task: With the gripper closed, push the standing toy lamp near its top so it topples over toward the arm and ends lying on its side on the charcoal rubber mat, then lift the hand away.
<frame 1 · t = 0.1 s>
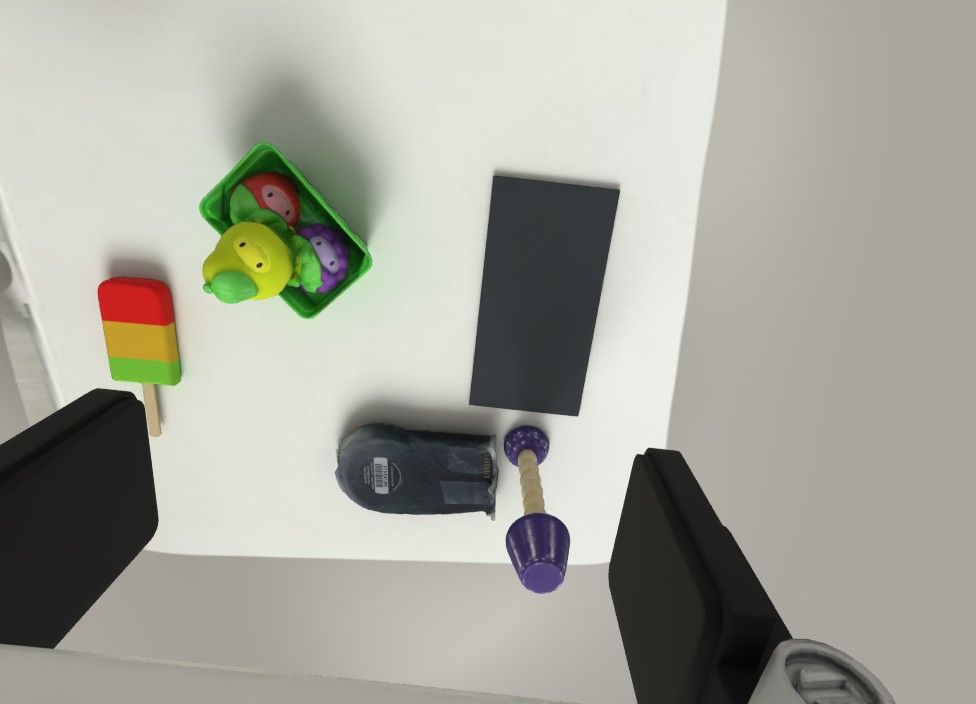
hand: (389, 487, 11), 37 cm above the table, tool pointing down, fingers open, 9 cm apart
mat: (538, 304, 47), on the table
fruit basket: (305, 230, 46), on the table
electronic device: (418, 461, 53), on the table
toy lamp: (528, 446, 52), on the table
popsicle: (152, 357, 50), on the table
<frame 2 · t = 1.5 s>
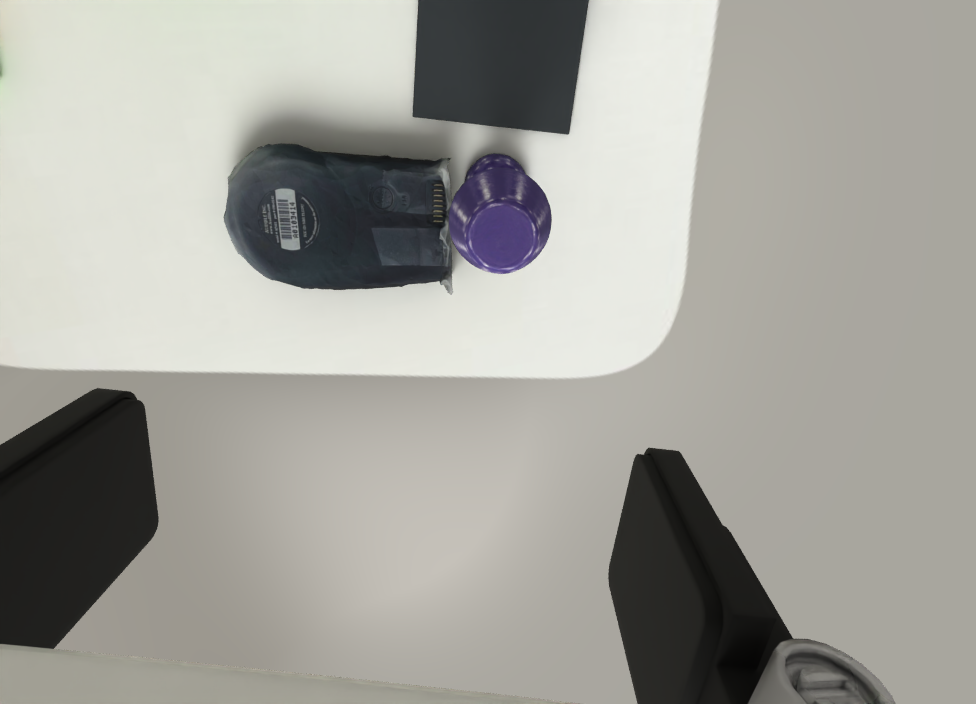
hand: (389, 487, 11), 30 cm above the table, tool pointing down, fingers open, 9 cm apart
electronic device: (346, 217, 38), on the table
toy lamp: (499, 191, 37), on the table
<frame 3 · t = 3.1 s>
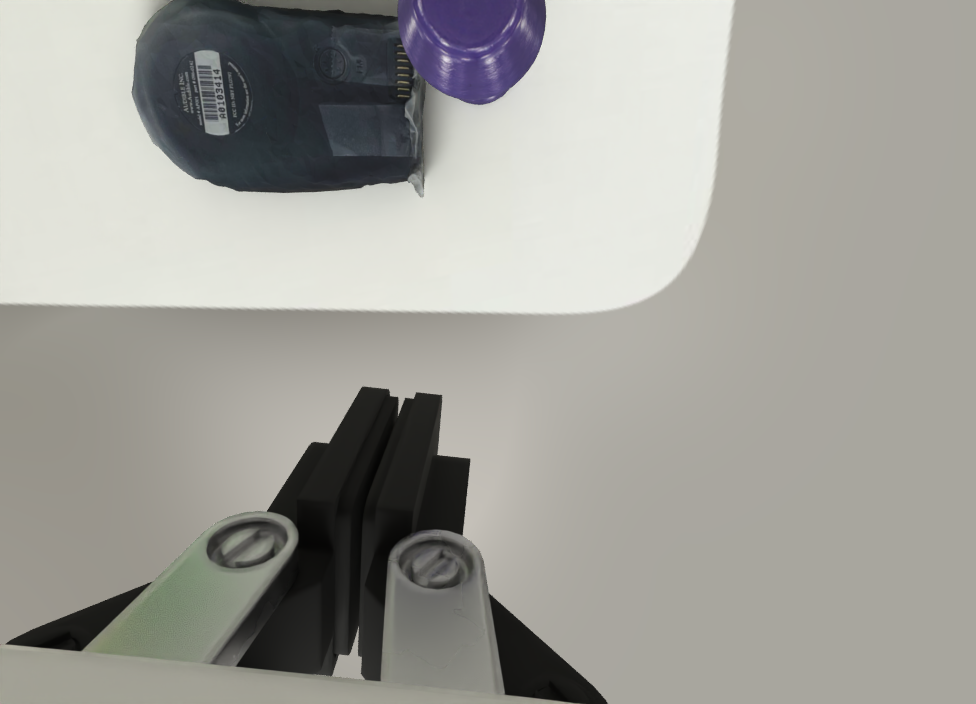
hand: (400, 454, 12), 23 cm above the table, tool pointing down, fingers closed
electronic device: (292, 102, 31), on the table
toy lamp: (482, 67, 30), on the table
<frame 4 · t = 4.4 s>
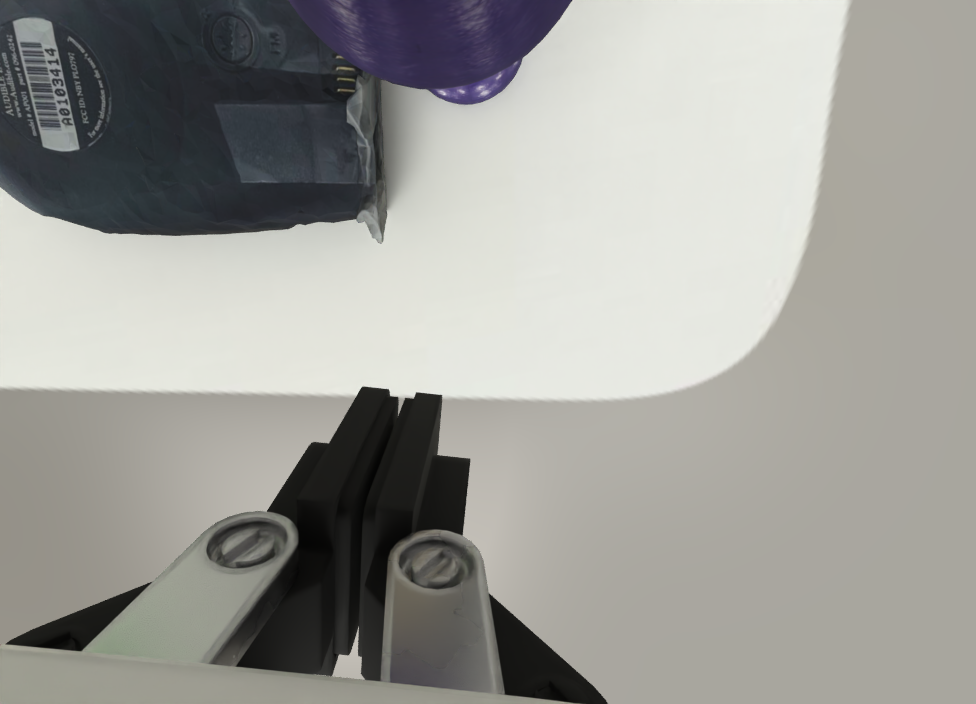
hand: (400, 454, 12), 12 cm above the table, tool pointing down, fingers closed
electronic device: (189, 101, 21), on the table
toy lamp: (471, 48, 20), on the table
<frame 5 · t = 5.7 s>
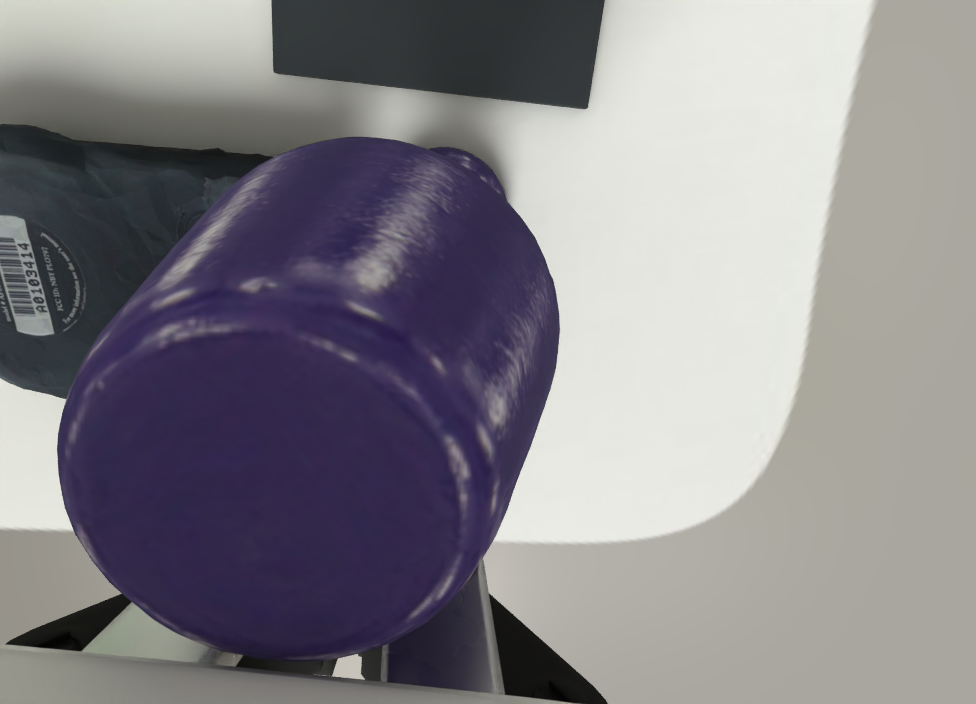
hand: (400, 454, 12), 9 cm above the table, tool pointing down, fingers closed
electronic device: (168, 266, 20), on the table
toy lamp: (453, 220, 19), on the table, touching gripper
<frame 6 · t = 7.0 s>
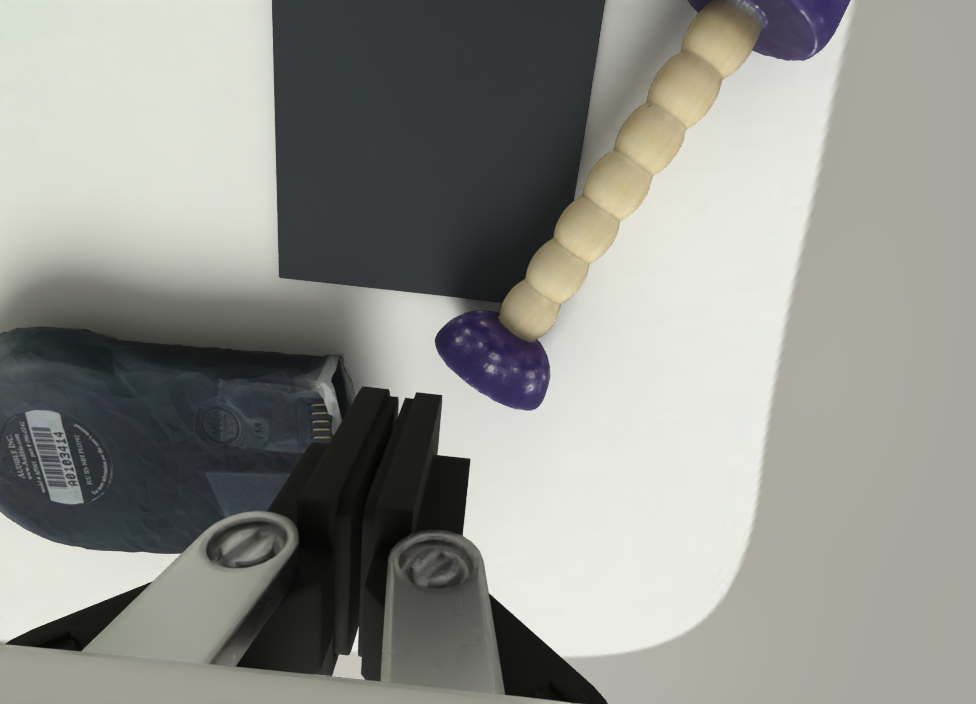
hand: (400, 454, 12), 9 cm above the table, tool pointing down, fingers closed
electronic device: (184, 426, 23), on the table
toy lamp: (493, 380, 19), point 2 cm above the table
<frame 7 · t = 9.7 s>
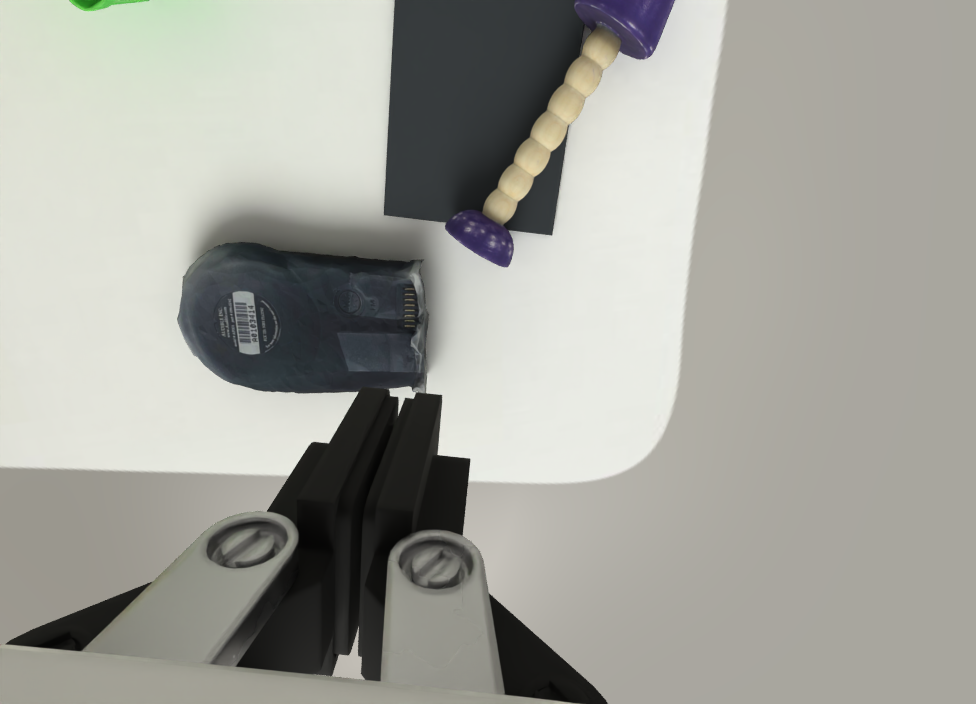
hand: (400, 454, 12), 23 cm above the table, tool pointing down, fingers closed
mat: (487, 35, 30), on the table
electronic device: (313, 314, 35), on the table
toy lamp: (476, 253, 31), point 2 cm above the table, touching mat
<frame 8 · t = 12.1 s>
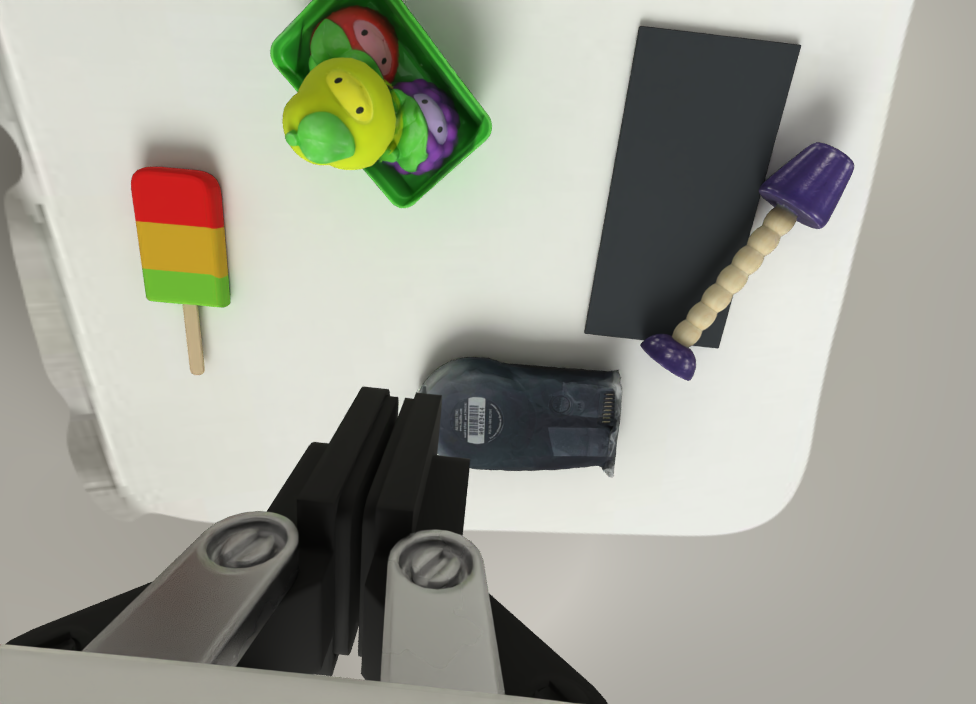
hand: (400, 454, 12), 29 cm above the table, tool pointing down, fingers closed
mat: (681, 202, 38), on the table
fruit basket: (392, 104, 36), on the table
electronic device: (515, 406, 44), on the table
toy lamp: (665, 368, 39), point 2 cm above the table, touching mat
popsicle: (194, 274, 41), on the table
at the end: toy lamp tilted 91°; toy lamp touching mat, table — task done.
